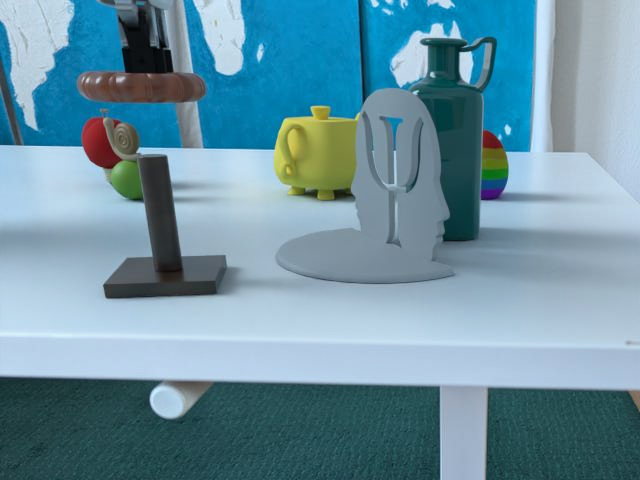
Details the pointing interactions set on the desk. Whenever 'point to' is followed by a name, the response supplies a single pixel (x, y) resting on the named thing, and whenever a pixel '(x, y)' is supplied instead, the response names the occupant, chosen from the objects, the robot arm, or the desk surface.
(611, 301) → the desk surface
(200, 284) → the post
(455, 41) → the pitcher
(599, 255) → the desk surface
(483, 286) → the desk surface
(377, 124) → the ornament
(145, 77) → the ring
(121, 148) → the snail figurine
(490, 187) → the decorative egg
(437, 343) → the desk surface
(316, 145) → the teapot
